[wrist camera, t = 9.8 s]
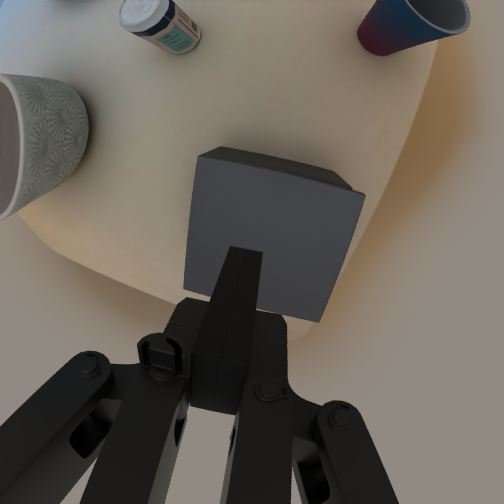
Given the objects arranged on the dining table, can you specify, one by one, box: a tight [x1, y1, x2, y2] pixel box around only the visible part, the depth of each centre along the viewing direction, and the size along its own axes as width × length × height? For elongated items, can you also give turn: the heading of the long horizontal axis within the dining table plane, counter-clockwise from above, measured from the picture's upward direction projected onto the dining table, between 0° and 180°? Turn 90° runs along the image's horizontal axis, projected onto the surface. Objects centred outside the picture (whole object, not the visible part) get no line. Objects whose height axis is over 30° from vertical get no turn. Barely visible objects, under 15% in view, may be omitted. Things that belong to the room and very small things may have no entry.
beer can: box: [119, 0, 200, 54], centre depth 20 cm, size 5×5×12 cm
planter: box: [0, 74, 89, 222], centre depth 24 cm, size 17×17×15 cm
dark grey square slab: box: [183, 155, 365, 323], centre depth 25 cm, size 14×14×1 cm
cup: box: [358, 0, 470, 56], centre depth 16 cm, size 7×7×15 cm
